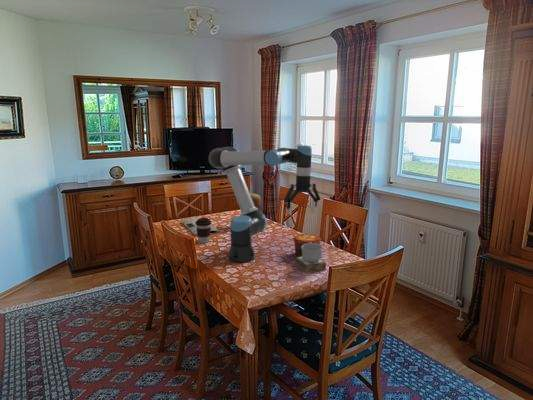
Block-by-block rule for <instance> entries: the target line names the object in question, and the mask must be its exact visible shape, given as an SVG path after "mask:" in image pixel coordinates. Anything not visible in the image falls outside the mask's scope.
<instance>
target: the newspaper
mask: <svg viewBox="0 0 533 400" xmlns="http://www.w3.org/2000/svg"><path fill="white" fill-rule="evenodd" d="M199 218H200V217H192V218H186V219H182V220H180V222H181V224H183V225H184V226H185V227H186V228H187V229H188V231H190V232H191V233H192V234H193V235H194V236H196V237H197V225H196V223H195V222H196V221H198V219H199ZM210 226H211V232H212V231H213V232H214V233H216V234H217V233H220V232H221V230H220V229H218V228H216V227H215V226H214V225H213V224H212V223H211V224H210Z"/></svg>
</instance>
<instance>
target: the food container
mask: <svg viewBox="0 0 533 400" xmlns="http://www.w3.org/2000/svg"><path fill="white" fill-rule="evenodd" d="M292 240H293V242H294V251H295V253H294V254H295V256H296V257H302V248H301V246H302V245H304V244H307V243H309V242H312V243H317V244H320V245H321V242H322V239H321V237H320V236H319V235H317V234H313V233H299V234H297V235H294V236H293V238H292Z"/></svg>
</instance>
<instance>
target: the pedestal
mask: <svg viewBox="0 0 533 400" xmlns="http://www.w3.org/2000/svg"><path fill="white" fill-rule="evenodd" d="M295 266H297V268H299V269H300V270H301V272H303V273H305V274H307V273H315V272H321V271H326V270H327V262H326V261H325V260H323V259H322V258H321V259H320V260H318V261H317V262H307V261H306V260H304V259H303V257H297V256H296V257H295Z"/></svg>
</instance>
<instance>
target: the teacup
mask: <svg viewBox="0 0 533 400" xmlns="http://www.w3.org/2000/svg"><path fill="white" fill-rule="evenodd" d="M301 248H302V257H303V259H304V260H306V261H307V262H317V261H318V260H320V259H322V257H323V246H322V244H321V243H320V244H317V243H312V242H309V243H307V244H304V245H302V246H301Z"/></svg>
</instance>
